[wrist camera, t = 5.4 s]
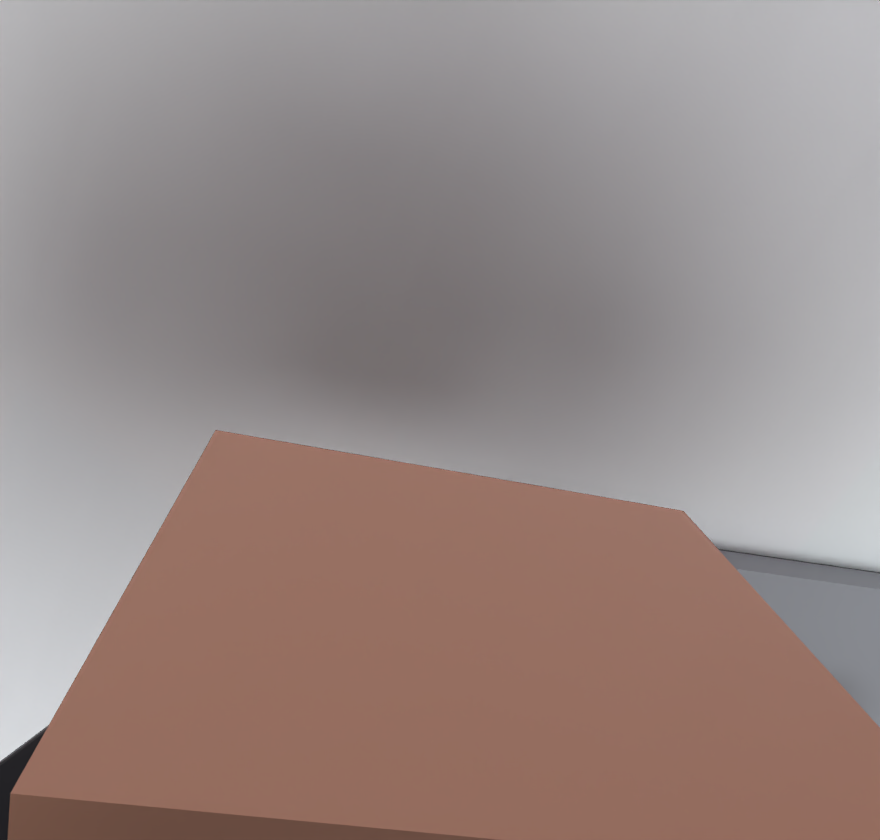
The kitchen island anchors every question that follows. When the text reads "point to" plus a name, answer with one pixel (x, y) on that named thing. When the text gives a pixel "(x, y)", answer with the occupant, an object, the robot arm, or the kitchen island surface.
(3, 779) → the robot arm
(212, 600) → the terracotta block
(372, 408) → the kitchen island surface
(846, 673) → the baseplate
